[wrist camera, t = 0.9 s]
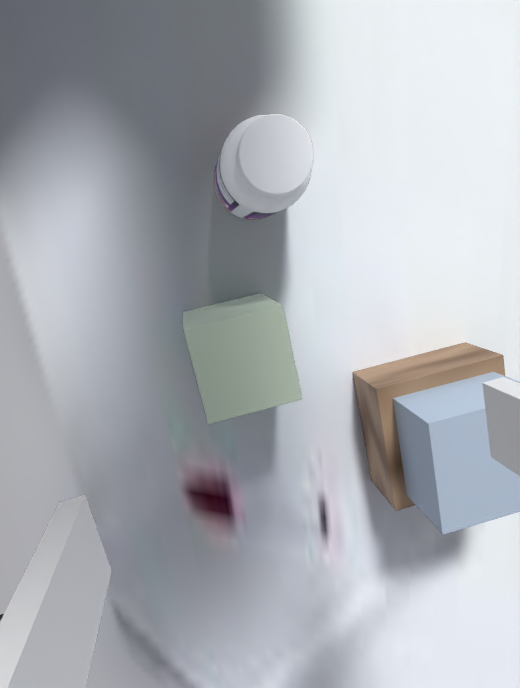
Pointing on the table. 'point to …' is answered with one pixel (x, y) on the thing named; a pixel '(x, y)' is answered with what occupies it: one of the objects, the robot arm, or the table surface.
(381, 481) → the tower base
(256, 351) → the green block
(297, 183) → the pill bottle
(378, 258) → the table surface
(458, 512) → the tower top
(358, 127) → the table surface
